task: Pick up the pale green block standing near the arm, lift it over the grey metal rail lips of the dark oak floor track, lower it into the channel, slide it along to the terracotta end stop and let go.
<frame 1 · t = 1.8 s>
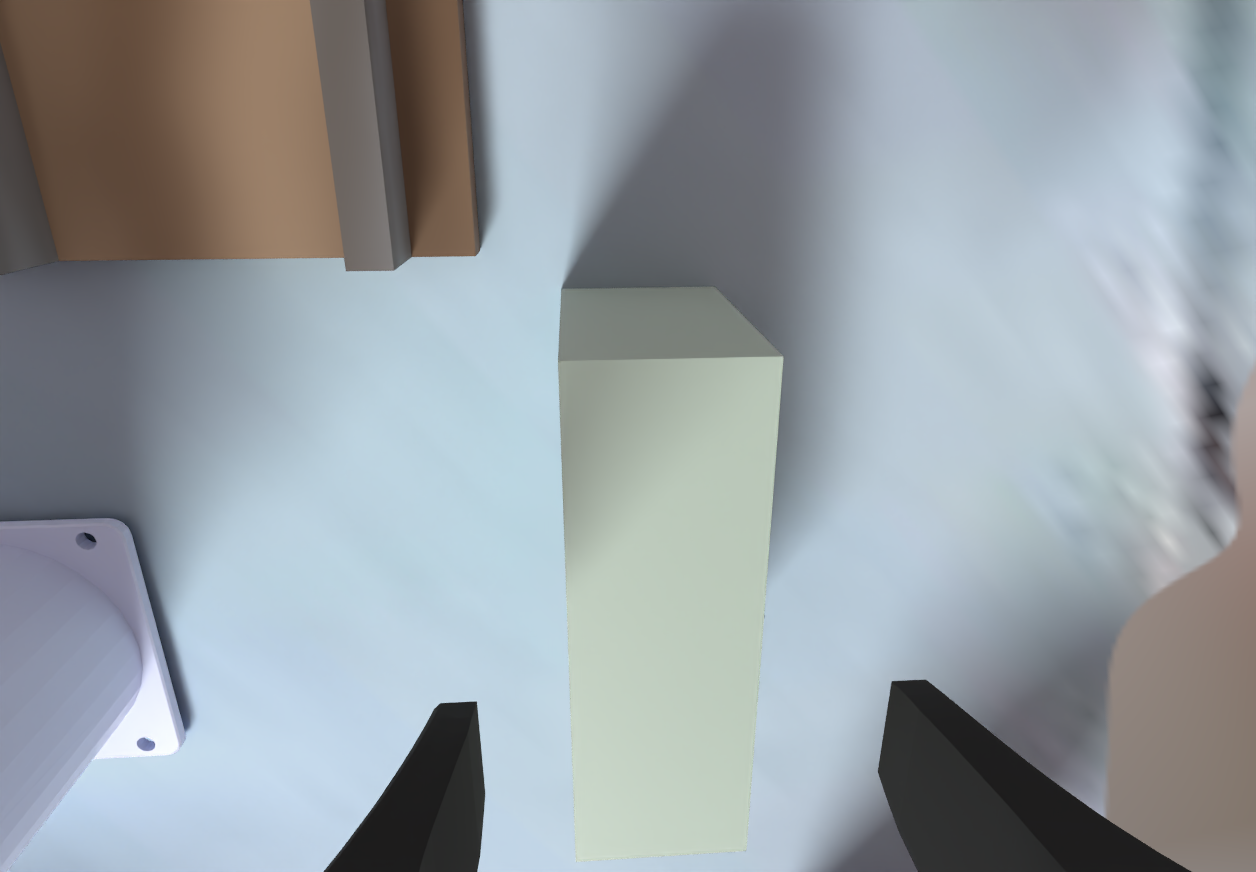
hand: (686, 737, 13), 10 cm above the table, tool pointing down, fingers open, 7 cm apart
pale green block: (637, 494, 22), on the table
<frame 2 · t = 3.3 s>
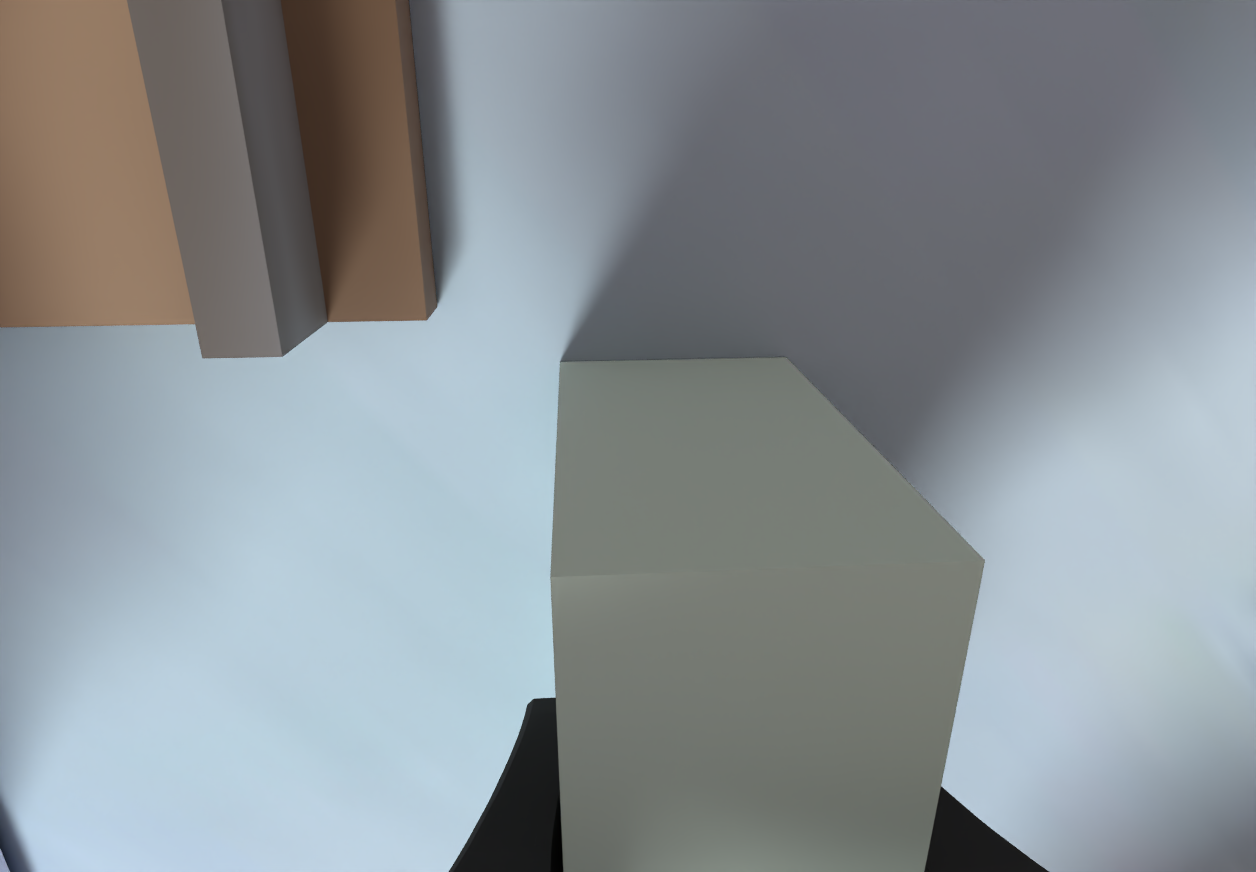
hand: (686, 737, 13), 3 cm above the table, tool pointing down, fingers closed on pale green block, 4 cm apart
pale green block: (667, 643, 16), on the table, touching gripper
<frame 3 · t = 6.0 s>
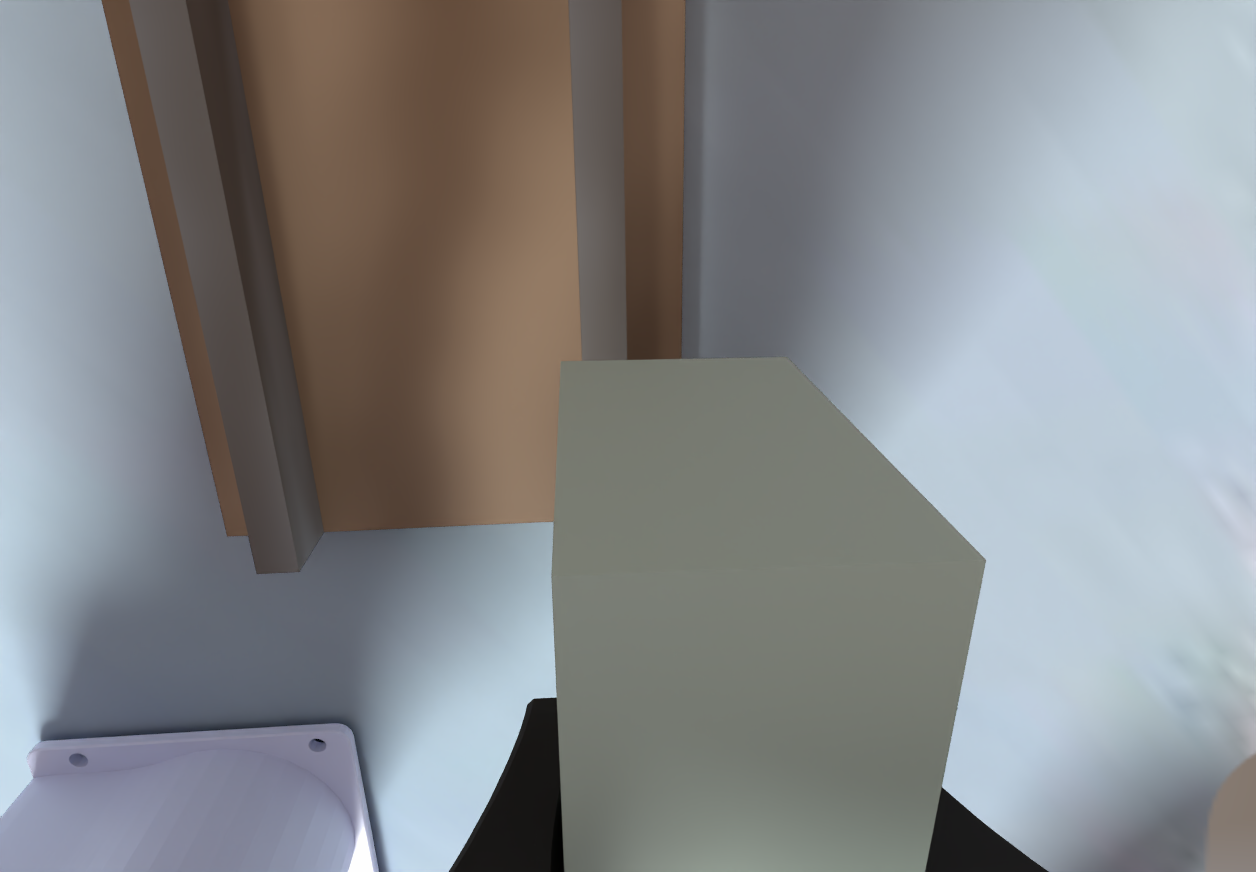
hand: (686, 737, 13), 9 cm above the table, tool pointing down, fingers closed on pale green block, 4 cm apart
track: (421, 123, 18), on the table
pale green block: (668, 642, 16), point 7 cm above the table, touching gripper
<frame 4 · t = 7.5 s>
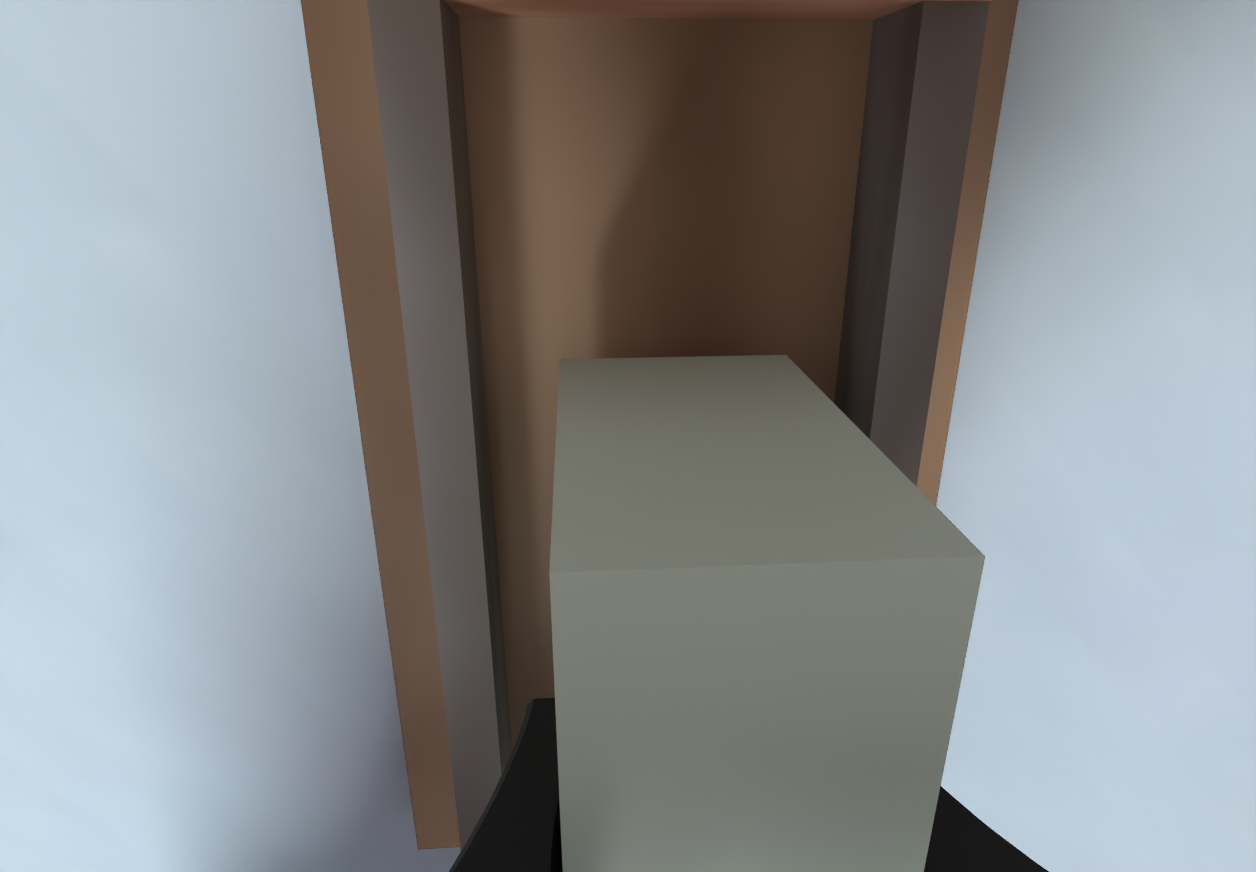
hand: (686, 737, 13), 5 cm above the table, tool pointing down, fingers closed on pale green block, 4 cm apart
track: (656, 460, 17), on the table
pale green block: (667, 641, 16), point 2 cm above the table, touching gripper
when the fingers open (5 cm above the table, at t = 8.9 s): pale green block drops 1 cm, resting on track.
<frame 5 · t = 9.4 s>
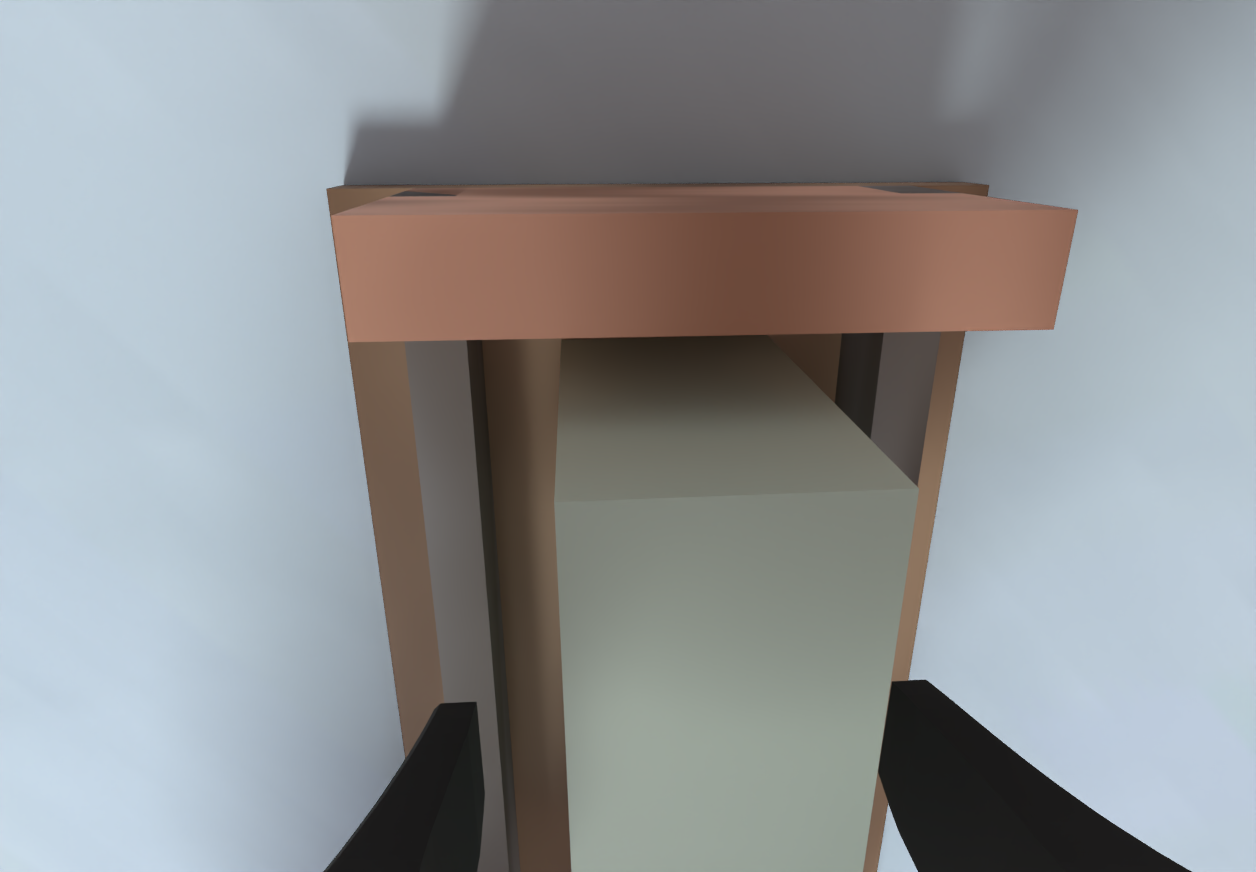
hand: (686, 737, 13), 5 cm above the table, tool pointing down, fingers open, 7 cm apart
track: (654, 621, 18), on the table
pale green block: (661, 601, 17), point 1 cm above the table, touching track
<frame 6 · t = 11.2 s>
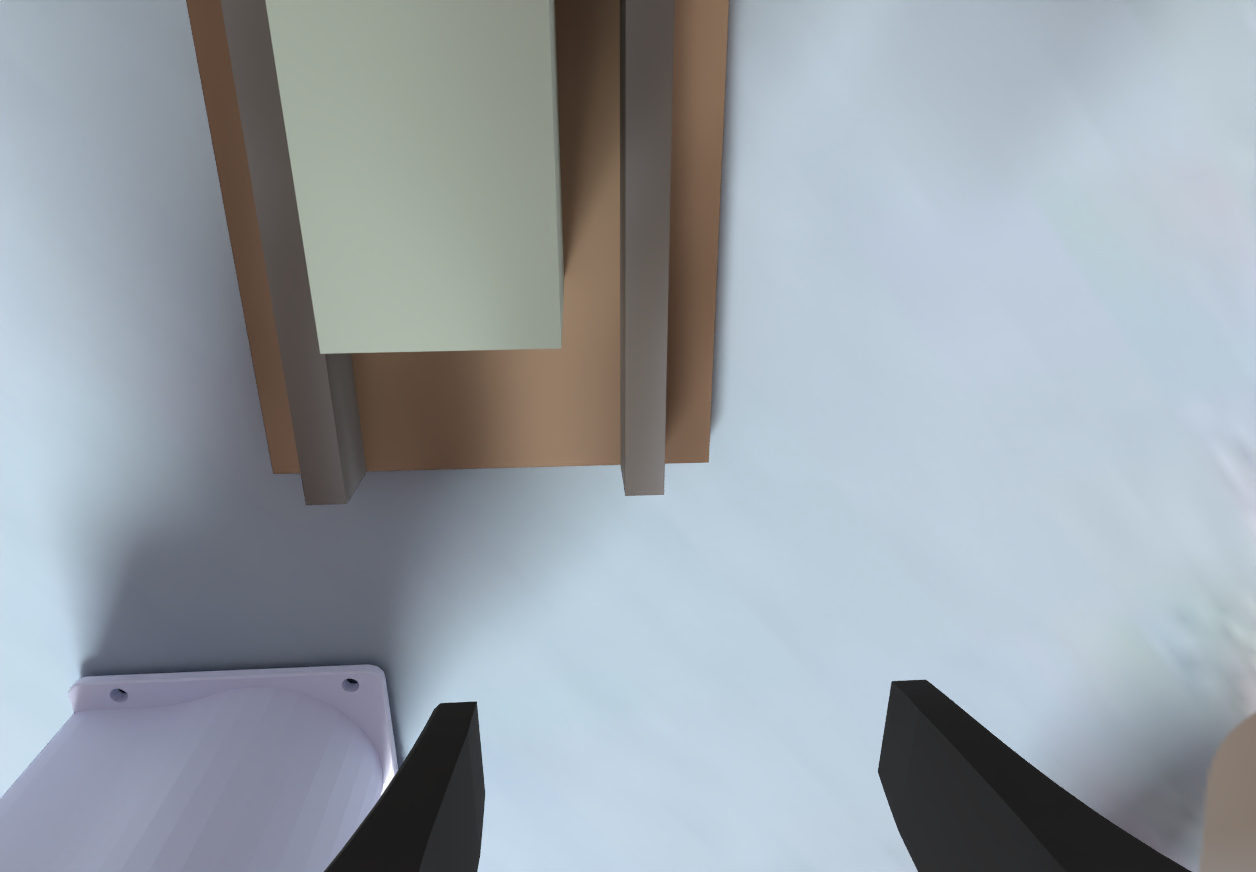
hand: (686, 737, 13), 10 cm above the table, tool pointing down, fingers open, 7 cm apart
track: (473, 73, 19), on the table
pale green block: (465, 10, 17), point 1 cm above the table, touching track
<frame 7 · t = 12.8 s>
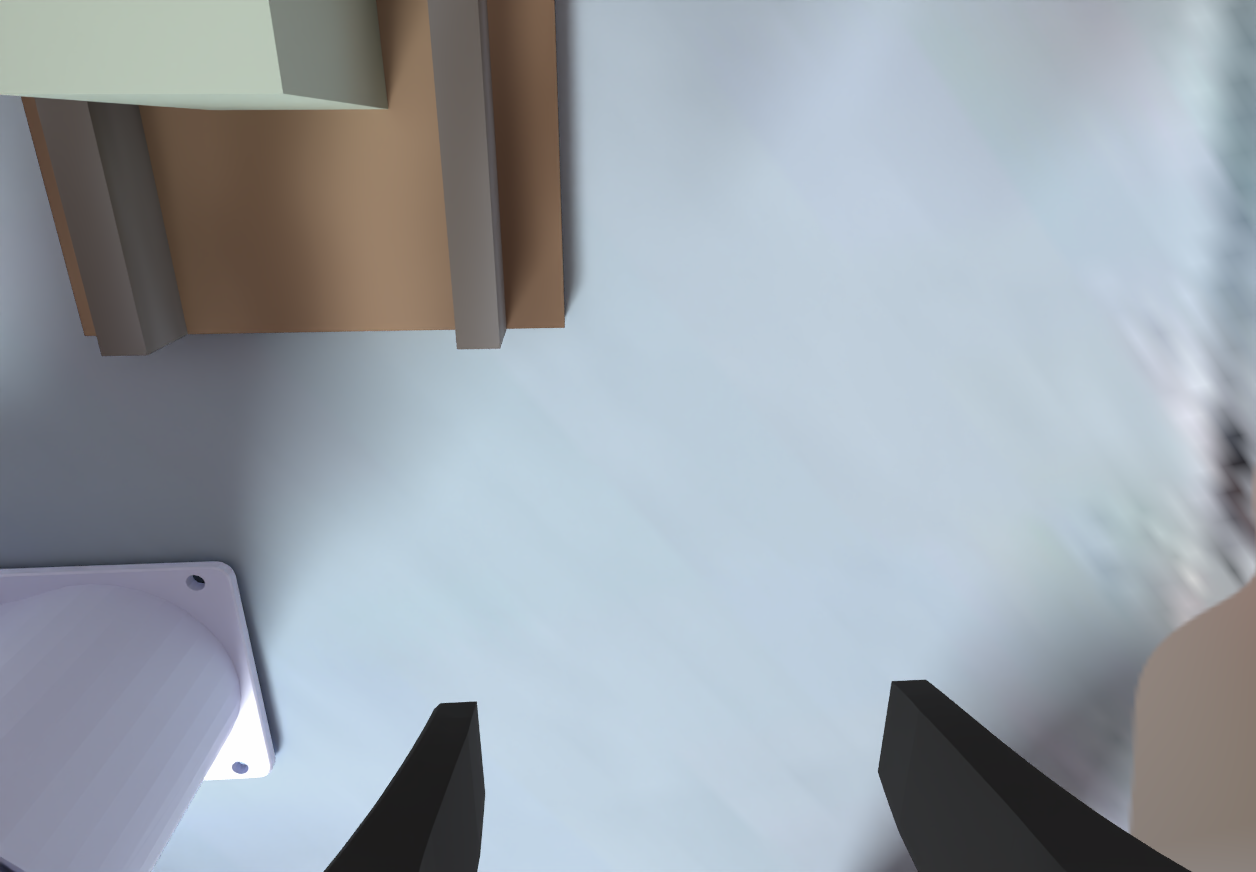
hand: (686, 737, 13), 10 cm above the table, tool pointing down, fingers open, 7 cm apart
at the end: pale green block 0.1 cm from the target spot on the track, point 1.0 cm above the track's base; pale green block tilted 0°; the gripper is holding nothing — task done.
